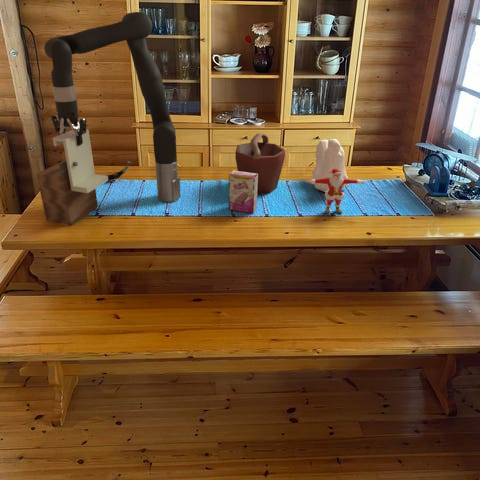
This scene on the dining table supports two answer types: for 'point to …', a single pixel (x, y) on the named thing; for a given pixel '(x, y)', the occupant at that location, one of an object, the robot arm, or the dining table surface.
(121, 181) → the dining table surface
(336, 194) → the santa figurine
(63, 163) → the cabinet
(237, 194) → the candy bar box
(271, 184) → the bucket
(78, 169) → the white angled bracket
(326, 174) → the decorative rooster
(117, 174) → the drinking horn
